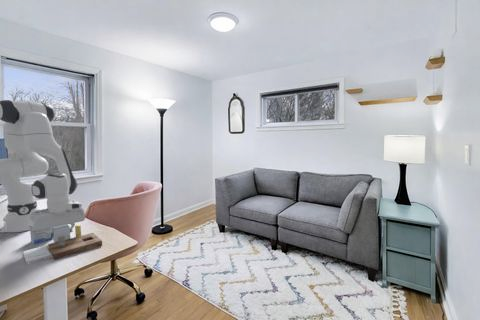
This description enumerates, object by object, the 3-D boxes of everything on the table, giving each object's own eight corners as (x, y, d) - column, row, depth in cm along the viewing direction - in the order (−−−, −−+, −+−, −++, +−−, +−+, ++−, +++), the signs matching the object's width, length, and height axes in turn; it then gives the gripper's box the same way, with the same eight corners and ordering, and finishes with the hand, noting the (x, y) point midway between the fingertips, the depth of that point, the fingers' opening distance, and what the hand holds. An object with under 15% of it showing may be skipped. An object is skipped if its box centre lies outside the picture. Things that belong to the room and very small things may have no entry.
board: (48, 249, 108) (47, 235, 107) (93, 237, 121) (92, 225, 121) (54, 259, 99) (53, 244, 99) (102, 245, 112) (101, 232, 112)
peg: (75, 237, 121) (74, 225, 121) (80, 235, 123) (79, 224, 122) (76, 238, 120) (75, 227, 119) (82, 237, 121) (81, 225, 121)
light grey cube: (55, 242, 112) (54, 230, 111) (52, 239, 116) (51, 227, 115) (70, 238, 116) (69, 226, 115) (67, 235, 120) (66, 223, 120)
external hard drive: (46, 248, 110) (52, 257, 102) (23, 254, 104) (26, 265, 96) (46, 245, 110) (52, 254, 102) (22, 251, 104) (26, 261, 96)
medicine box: (33, 244, 113) (31, 226, 112) (30, 241, 116) (29, 224, 115) (53, 238, 120) (52, 221, 119) (50, 236, 122) (49, 219, 121)
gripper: (31, 213, 105) (34, 243, 106) (85, 203, 120) (87, 230, 121) (29, 210, 109) (31, 239, 110) (81, 201, 124) (83, 227, 125)
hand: (61, 234), depth 116 cm, fingers closed on light grey cube, 6 cm apart
